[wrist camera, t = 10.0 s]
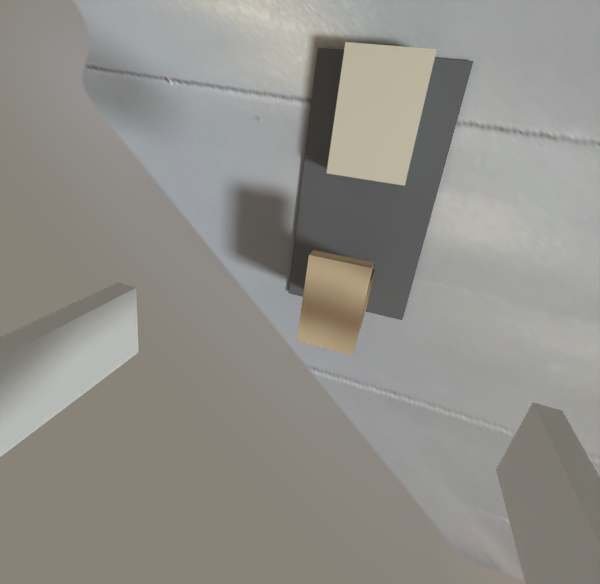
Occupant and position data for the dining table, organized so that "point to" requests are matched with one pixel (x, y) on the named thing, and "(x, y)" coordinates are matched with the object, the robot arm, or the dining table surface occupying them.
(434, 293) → the dining table surface
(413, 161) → the mat
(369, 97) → the two-tone tile
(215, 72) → the dining table surface
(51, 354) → the robot arm
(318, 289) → the oak shelf
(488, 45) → the dining table surface
